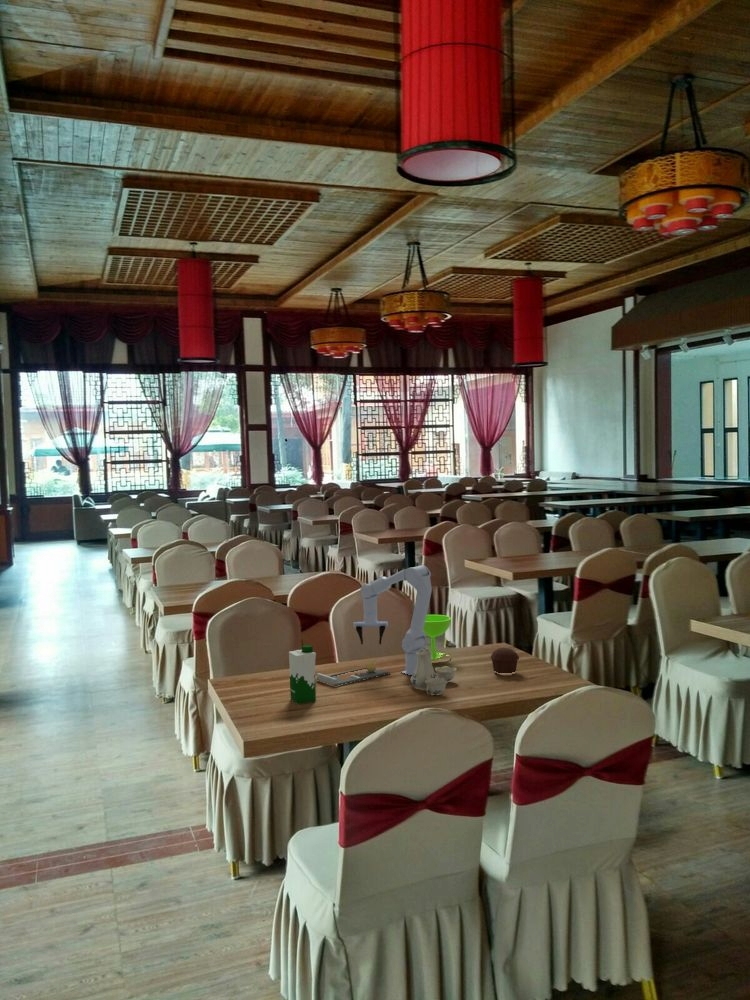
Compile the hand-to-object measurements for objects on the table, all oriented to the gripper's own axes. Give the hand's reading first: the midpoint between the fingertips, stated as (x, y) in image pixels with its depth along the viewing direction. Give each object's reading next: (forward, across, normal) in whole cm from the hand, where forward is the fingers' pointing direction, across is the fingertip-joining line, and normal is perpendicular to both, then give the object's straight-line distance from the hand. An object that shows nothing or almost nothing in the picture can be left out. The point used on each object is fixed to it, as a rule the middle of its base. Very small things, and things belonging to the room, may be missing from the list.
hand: (371, 643), depth 344 cm
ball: (+7, 0, +11) cm, 13 cm away
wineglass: (+10, -27, -12) cm, 31 cm away
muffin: (+10, -55, +13) cm, 57 cm away
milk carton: (+10, +23, +48) cm, 54 cm away
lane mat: (+10, +6, +17) cm, 21 cm away
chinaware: (+10, -24, +33) cm, 42 cm away
